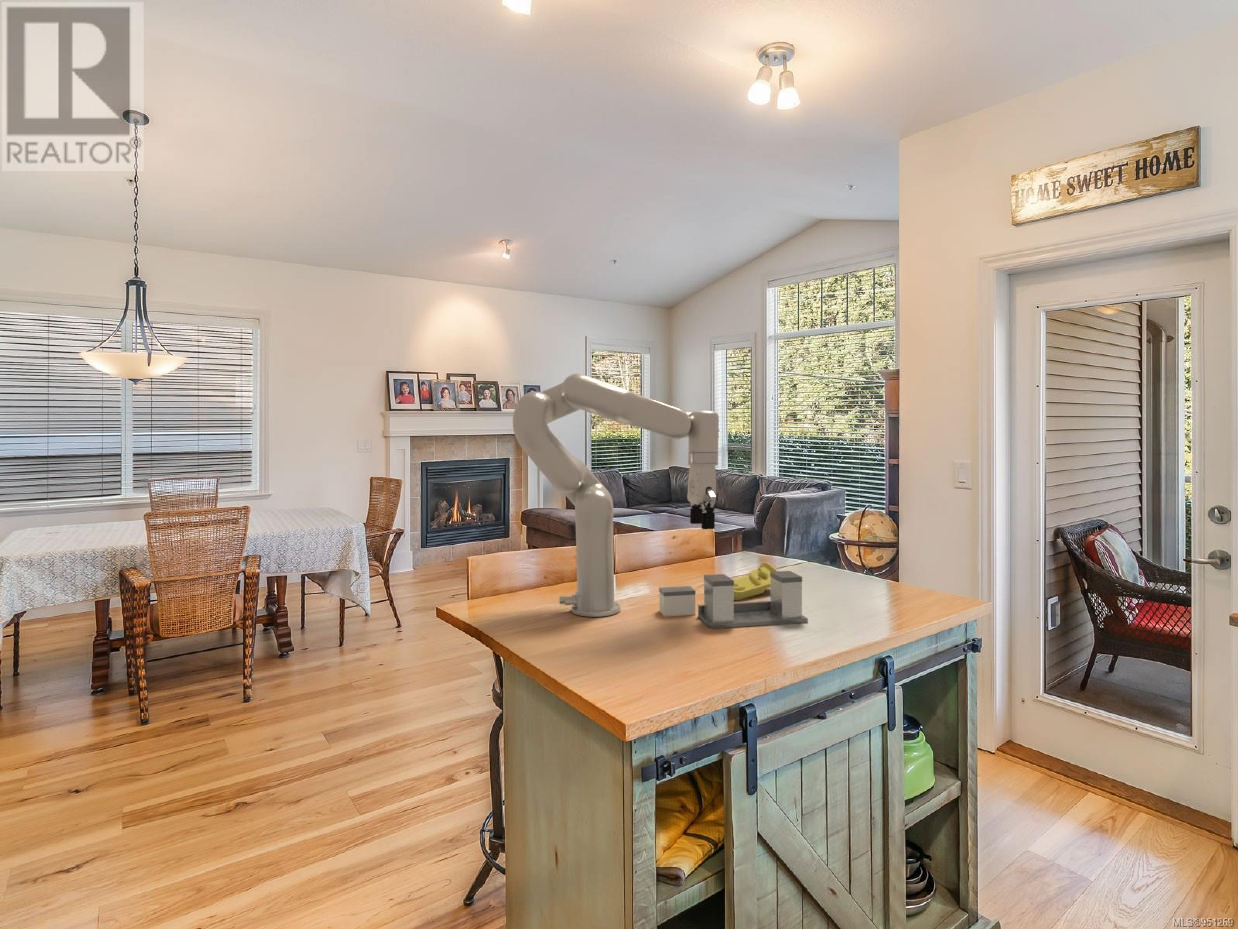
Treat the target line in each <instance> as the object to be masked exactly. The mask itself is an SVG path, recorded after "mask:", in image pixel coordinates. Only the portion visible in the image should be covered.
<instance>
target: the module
mask: <svg viewBox="0 0 1238 929" xmlns="http://www.w3.org/2000/svg"><path fill="white" fill-rule="evenodd" d="M658 592H659V612H660V613H661V614H662V616H663V617H677V616H689V615H690V616H692V615H696V590H695V589H694V588H693V587H692V586H691V585H687V586H685V585H684V586H669V587H667V586H666V587H659V590H658Z"/></svg>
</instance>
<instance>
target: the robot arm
mask: <svg viewBox="0 0 1238 929" xmlns="http://www.w3.org/2000/svg"><path fill="white" fill-rule="evenodd" d="M579 410H581V411H585V412H587V413H591V414H593V415H595V416H599V417H602V418H604V419H607V420H609V421H614V423H615V422H616V423H619V424H623V425H627V426H628V425H630V426H633V427H637V428H641V429H643V430H646V431H649V432H652V433H654V434H658V435H660V436H663V437H665V438H666V439H670V440H680V439H686V438H688V457H687V458H688V459H687V460H688V462H687V463H688V464H687V465H688V466H689V469H688V479H687V480H688V481H687V493H686V494H687V495H686V496H687V497H686V498H687V501H688V502H689V503H690V505H689V508H690V510H689V511H690V513H689V514H690V515H689V523H690V524H691V525H694V524H697V525H698V524H699V525H700V524H701V529H702V530H714V529H715V524H716V523H715V522H716V521H715V517H716V516H715V515H716V501H717V500H716V499H717V475H716V474H717V472H716V466H718V465H719V430H720V429H719V428H720V427H719V426H720V422H719V421H720V419H719V418H720V416H719V414H718V413H717V412H716V411H714V410H694V411H692V412H690V411H684V410H683V409H681V408H677V407H675V406H672V405H669V404H666V403H663V402H661V401H657V400H654V399H651V398H649V397H647V396H644V395H641V394H638V393H636V392H634V391H631V390H628V389H626V388H623V387H620V386H617V385H613V384H611V383H608V382H605V381H602V380H600V379H597V378H594V377H591V376H588V375H585V374H582V373H572V374H570V375H569V376H567V377H565V379H564V381H563V382H560V383H558V384H557V385H555V386H552V387H550V388H548V389H545V390H543V391H534V390H533V391H529V392H527V393H525V394H523V396H521V398H519V400H518V401H517V403H516V406H515V408H514V411H513V415H512V430H513V433H514V436H515V438H516V441H517V443H518V445H519V446H520V447H521V449H522V450H523V452H524V453H525V454H526V455H527V457H528V458H529V459H530V460H531V461H532V463H534V465H535V466H536V467H537V469H538V470H539V471H540V472H541V473H542V474H543V476H544V477H545V478H546V479H547V481H548V482H549V483H550V484H551V486H552V487H553V488H554V489H555V490H556V491H558V492H560V493H563V494H564V495H565V497H566V498H567V499H568V500H569V501H570V503H571V504H572V505H573V506H574V517H575V518H574V519H575V545H576V546H575V548H576V549H575V550H576V591H574V594H571V595H570V596H566V595H565V596H563V595H562V596H559V597H558V599H559V601H558V603H559V605H564V606H570V605H571V613H573V615H578V616H581V617H587V618H588V617H589V618H593V617H594V618H596V617H597V618H598V617H600V618H601V617H608V616H612V615H615V614H618V613H619V612H620V611H621V605H620V603H619V602H616V601H615V573H614V572H615V561H614V556H615V555H614V553H615V552H614V501H613V498H612V495H611V493H610V492H609V490H608V489H607V488H606V487H605V485H603V484H602V482H601V481H600V480H599V479H598V477H597V476H596V475H595V474H594V473H593V471H592V470H591V469H590V468H589V467H588V466H587V465H586V464H585V462H583V461H582V459H580V458H579V457H578V456H575V455H572V454H571V453H570V452H569V450H568V449H566V447H565V446H564V445H563V444H562V443H561V441H560V440H559V439H558V437H556V436H555V434H554V433H553V432H552V430H551V429H550V427H549V426H548V424H550V423H552V422H555V421H557V420H559V419H562V418H564V417H567V416H568V415H571V414H574V413H576V412H577V411H579Z"/></svg>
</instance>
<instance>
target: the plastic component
mask: <svg viewBox="0 0 1238 929" xmlns="http://www.w3.org/2000/svg"><path fill="white" fill-rule="evenodd" d="M776 571H779V570H778V569H777V568H775V566H773V565H772V564H771V563H769V562H764V563H761V564H760V566H759V567H757V568H755V569H752V570H751V571H750V572H749V574H748V575H743V576H740V577H736V578H732V580H734V601H740V600H741V601H742V600H745V599H748V598H751V597H755V596H758V595H762V594H764V593H765V591H766V590H767V589H771V577H770V572H776Z"/></svg>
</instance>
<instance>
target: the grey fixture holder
mask: <svg viewBox="0 0 1238 929" xmlns="http://www.w3.org/2000/svg"><path fill="white" fill-rule="evenodd" d="M770 577H771V587H770V600H762V601H758V600H757V601H746V602H741V601H740V602H735V600H734V580H733V578H730V577H729V576H728V575H726V574H725V573H721V574H704V575H703V581H704V582H703V583H704V584H703V592H704V594H703V595H704V596H703V600H704V602H703V604H698V605H697V617H698V619H700V620H701V621H702V622H703V623H704V624H705V625H706V626H707V627H708V628H709V629H710V630H711V629H712V630H713V629H714V630H715V629H716V630H717V629H727V628H730V629H731V628H743V627H746V628H747V627H759V626H760V627H761V626H773V625H774V626H775V625H791V624H803V623H804V624H805V623H806V624H807V623H808V622H809V619H808V617H806V616H805V615H803V576H801V575H799V574H797V573H796V572H793V571H791V570H778V571H776V572H770Z"/></svg>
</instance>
